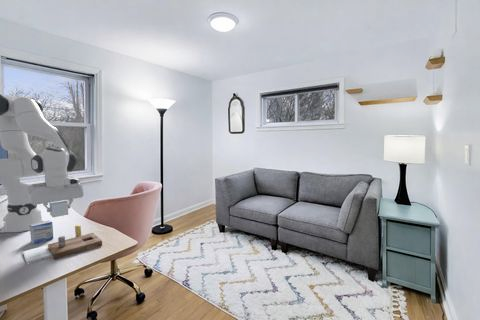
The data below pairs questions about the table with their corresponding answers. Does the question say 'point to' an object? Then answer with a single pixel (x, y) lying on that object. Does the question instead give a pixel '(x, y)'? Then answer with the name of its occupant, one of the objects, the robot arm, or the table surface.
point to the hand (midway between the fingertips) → (59, 209)
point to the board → (73, 245)
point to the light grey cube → (59, 208)
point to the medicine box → (41, 231)
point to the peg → (78, 230)
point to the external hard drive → (36, 254)
